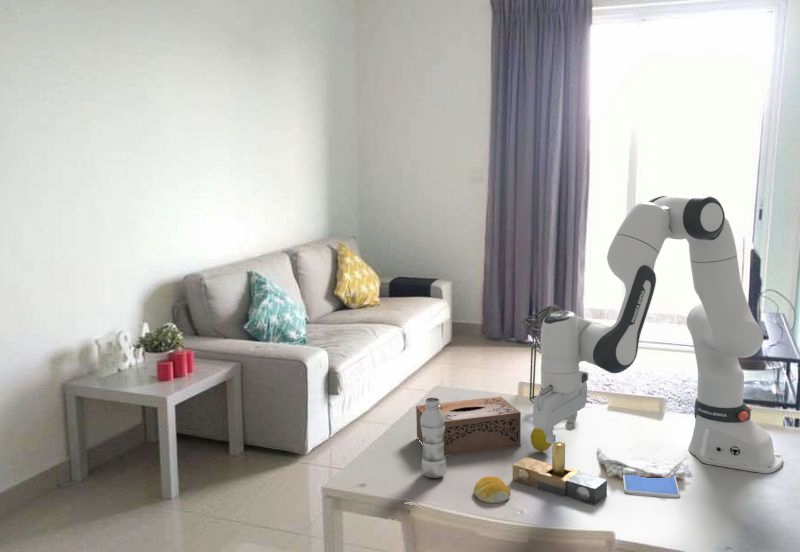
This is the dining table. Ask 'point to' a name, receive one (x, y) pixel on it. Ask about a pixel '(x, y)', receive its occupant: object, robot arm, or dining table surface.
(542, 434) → the lemon
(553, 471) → the brass pin
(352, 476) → the dining table surface
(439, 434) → the plastic bottle
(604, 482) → the block
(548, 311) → the geometric lantern
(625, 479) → the tablet computer
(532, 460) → the block
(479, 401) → the tissue box cover
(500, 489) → the bread roll
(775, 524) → the dining table surface
